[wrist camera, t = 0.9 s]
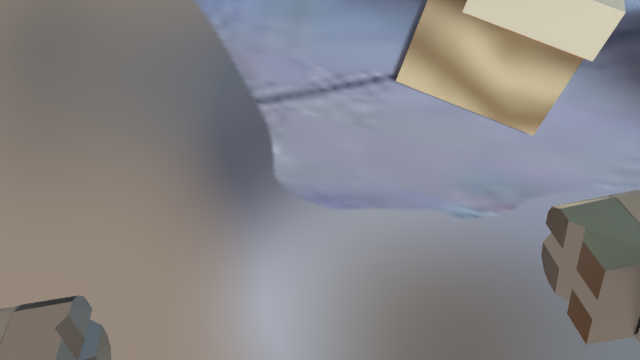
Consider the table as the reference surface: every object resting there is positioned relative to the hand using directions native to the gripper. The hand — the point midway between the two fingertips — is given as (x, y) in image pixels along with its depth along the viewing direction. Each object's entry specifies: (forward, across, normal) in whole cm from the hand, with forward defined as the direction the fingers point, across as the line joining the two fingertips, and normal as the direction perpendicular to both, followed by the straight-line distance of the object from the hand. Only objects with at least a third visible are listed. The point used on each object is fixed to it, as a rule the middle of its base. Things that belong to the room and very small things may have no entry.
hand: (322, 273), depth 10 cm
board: (+40, -21, +15) cm, 48 cm away
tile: (+39, -23, +10) cm, 46 cm away
